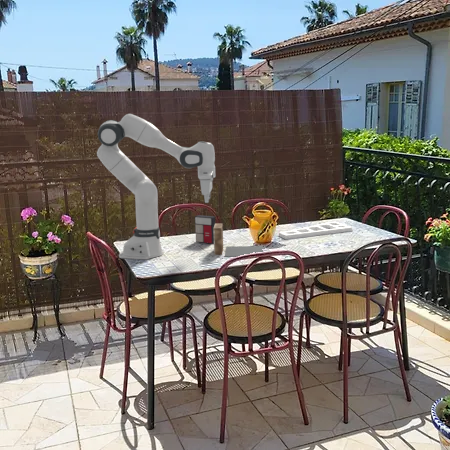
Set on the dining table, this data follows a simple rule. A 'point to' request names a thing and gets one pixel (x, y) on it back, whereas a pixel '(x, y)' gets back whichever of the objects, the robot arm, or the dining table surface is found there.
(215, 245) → the tall block
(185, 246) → the dining table surface
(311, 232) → the holder
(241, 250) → the mat
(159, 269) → the dining table surface
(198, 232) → the grey and red box
